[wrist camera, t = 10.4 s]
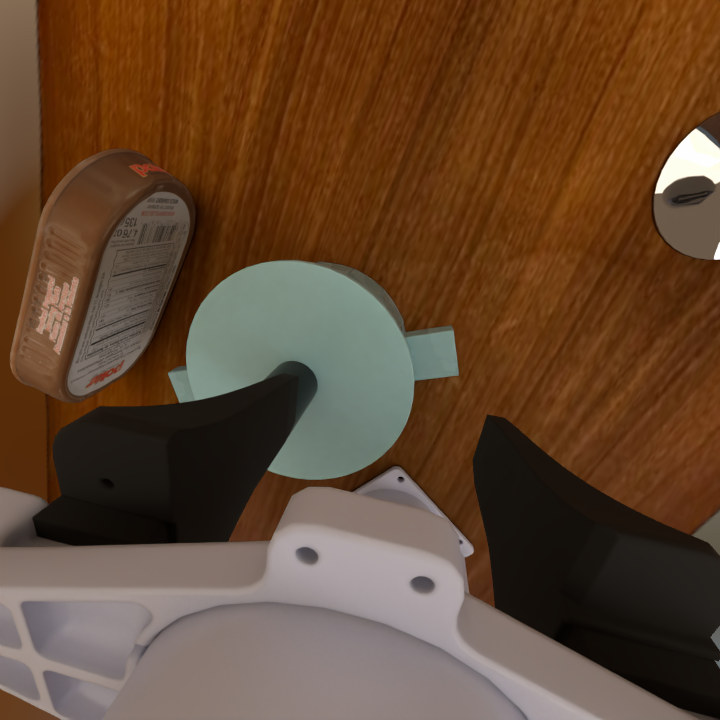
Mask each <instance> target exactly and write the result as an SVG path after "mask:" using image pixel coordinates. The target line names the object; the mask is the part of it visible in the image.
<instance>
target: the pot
mask: <svg viewBox="0 0 720 720" xmlns="http://www.w3.org/2000/svg"><path fill="white" fill-rule="evenodd" d="M315 263H317V264H320V265H324V266H327V267H331V268H333V269H335V270H337V271H340V272H342V273H344V274H346V275H348V276H350V277H351V278H353V279H354V280H356V281H358V282H359V283H361V284H362V285H363V286H365V287H366V288H367V289H368V290H370V291H371V292H372V293H373V294H375V295H376V297H377V298H378V299H379V300H380V301H381V302H382V303H383V304H384V305H385V306H386V307H387V308H388V310H389V311H390V313H391V314H392V315H393V317H394V318H395V319H396V321H397V323H398V325H399V326H400V328H401V330H402V332H403V334H404V336H405V339H406V341H407V344H408V346H409V349H410V353H411V357H412V362H413V369H414V381H416V380H424V379H432V378H440V377H449V376H457V375H459V371H458V362H457V354H456V346H455V338H454V331H453V327H452V326H451V325H450V326H443V327H437V328H430V329H424V330H417V331H410V332H406V331H405V327H404V322H403V319H402V316H401V315H400V312H399V311H398V309H397V307H396V305H395V303H394V302H393V300H392V299H391V298H390V296H389V295H388V294H387V292H386V291H385V290H384V289H383V288H382V287H381V286H380V285H379V284H377V283H376V282H375V281H374V280H372V279H371V278H370V277H368V276H366V275H365V274H363V273H362V272H360V271H358V270H356V269H354V268H351V267H347V266H344V265H340V264H334V263H327V262H315ZM168 375H169V377H170V380H171V382H172V385H173V387H174V390H175V392H176V395H177V397H178V400H179V403H183V402H189V401H196V400H195V398H194V396H193V393H192V390H191V386H190V383H189V378H188V373H187V366H180V367H177V368H175V369H173V370H172V371H170V372H168Z"/></svg>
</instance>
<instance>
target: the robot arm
mask: <svg viewBox="0 0 720 720" xmlns="http://www.w3.org/2000/svg"><path fill="white" fill-rule="evenodd" d="M298 383H299V376H296V375H291V374H286V373H283V374H279V375H276V376H273V377H271V378H268V379H265V380H263V381H260V382H258V383H255V384H252V385H250V386H247V387H244V388H241V389H238V390H235V391H232V392H229V393H226V394H222V395H218V396H215V397H210V398H206V399H201V400H196V401H189V402H183V403H176V404H168V405H156V406H136V407H108V406H99V407H98V408H96V409H94V410H92V411H91V412H89V413H87V414H86V415H84V416H82V417H80V418H79V419H77V420H75V421H74V422H72V423H70V424H68V425H67V426H65V427H63V428H62V429H60V431H59V432H58V433H57V435H56V436H55V439H54V443H53V459H54V463H55V468H56V472H57V477H58V481H59V486H60V490H61V496H60V497H59V498H57V499H56V500H55V501H53V502H52V503H51V504H49V505H48V503H47V502H46V501H45V500H44V499H43V498H40V497H38V496H36V495H32V494H27V493H24V492H20V491H16V490H12V489H8V488H2V487H0V689H2V690H4V691H6V692H8V693H10V694H13V695H14V696H16V697H19V698H20V699H22V700H24V701H26V702H28V703H30V704H32V705H34V706H36V707H38V708H40V709H42V710H44V711H46V712H48V713H50V714H52V715H54V716H56V717H58V718H60V719H62V720H720V668H719V667H718V665H717V664H716V662H715V661H719V660H720V651H719V649H718V648H717V646H716V645H715V643H714V642H713V641H712V639H711V638H710V637H711V636H712V634H713V633H714V632H715V631H716V629H717V628H718V627H719V626H720V556H719V554H718V553H717V552H716V551H715V550H714V549H713V547H712V546H711V545H710V544H709V543H707V542H705V541H703V540H700V539H698V538H695V537H693V536H691V535H688V534H686V533H684V532H681V531H679V530H676V529H674V528H672V527H669V526H667V525H664V524H662V523H660V522H658V521H656V520H654V519H652V518H650V517H647V516H645V515H643V514H641V513H639V512H637V511H635V510H633V509H631V508H629V507H627V506H625V505H624V504H622V503H620V502H618V501H616V500H614V499H613V498H611V497H609V496H607V495H606V494H604V493H602V492H600V491H599V490H597V489H595V488H594V487H592V486H591V485H589V484H587V483H586V482H584V481H583V480H581V479H580V478H578V477H577V476H576V475H574V474H573V473H571V472H570V471H568V470H567V469H566V468H564V467H563V466H562V465H560V464H559V463H558V462H556V461H555V460H554V459H553V458H551V457H550V456H549V455H548V454H546V453H545V452H544V451H543V450H542V449H540V448H539V447H538V446H537V445H536V444H535V443H533V442H532V441H531V440H530V439H529V438H528V437H527V436H525V435H524V434H523V433H522V432H521V431H520V430H519V429H518V428H516V427H515V426H514V425H513V424H512V423H511V422H509V421H508V420H507V419H505V418H502V417H497V416H492V415H487V417H486V420H485V423H484V427H483V430H482V433H481V436H480V439H479V442H478V445H477V448H476V451H475V454H474V458H473V473H474V484H475V488H476V493H477V497H478V502H479V506H480V510H481V515H482V519H483V523H484V527H485V532H486V536H487V541H488V546H489V553H490V561H491V570H492V579H493V590H494V600H495V608H494V607H492V606H490V605H489V604H487V603H485V602H483V601H481V600H479V599H478V598H476V597H474V596H472V595H470V594H469V589H468V581H467V574H466V566H465V558H464V557H467V556H469V555H471V554H472V553H473V552H474V548H473V545H472V544H471V543H470V542H469V541H468V539H467V538H466V537H465V536H464V535H463V534H462V533H461V532H460V531H459V530H458V529H457V528H456V526H455V525H454V524H453V523H452V522H451V521H450V520H449V519H448V518H447V517H446V516H445V515H444V513H443V512H442V511H441V510H440V509H439V508H438V507H437V506H436V505H435V504H434V503H433V502H432V500H431V499H430V498H429V497H428V496H427V495H426V494H425V493H424V492H423V491H422V490H421V489H420V487H419V486H418V485H417V484H416V483H415V482H414V481H413V480H412V479H411V478H410V477H409V476H408V474H407V473H406V472H405V471H404V470H403V469H402V468H401V467H398V466H394V467H392V468H390V469H389V470H387V471H386V472H384V473H382V474H381V475H379V476H378V477H376V478H374V479H373V480H371V481H369V482H368V483H366V484H365V485H363V486H361V487H360V488H358V489H357V490H355V491H353V492H349V491H345V490H340V489H336V488H332V487H307V488H305V489H303V490H301V491H300V492H298V493H296V494H294V495H292V497H291V499H290V501H289V503H288V505H287V507H286V509H285V511H284V514H283V516H282V518H281V520H280V522H279V524H278V526H277V528H276V530H275V532H274V535H273V537H272V539H271V541H248V542H228V540H229V538H230V536H231V534H232V532H233V530H234V528H235V526H236V524H237V522H238V520H239V518H240V516H241V514H242V512H243V510H244V508H245V506H246V504H247V502H248V500H249V498H250V496H251V494H252V492H253V491H254V489H255V487H256V486H257V484H258V483H259V481H260V480H261V478H262V477H263V475H264V474H265V472H266V471H267V469H268V468H269V466H270V465H271V463H272V462H273V460H274V459H275V457H276V456H277V454H278V453H279V451H280V450H281V448H282V447H283V445H284V443H285V442H286V440H287V438H288V436H289V434H290V432H291V430H292V427H293V425H294V423H295V417H296V406H297V395H298ZM398 477H403V478H404V479H400V478H398ZM459 540H460V541H459ZM714 660H715V661H714Z"/></svg>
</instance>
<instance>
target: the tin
mask: <svg viewBox="0 0 720 720" xmlns="http://www.w3.org/2000/svg"><path fill="white" fill-rule="evenodd" d="M195 218H196V211H195V204H194V201H193V198H192V195H191V193H190V192H189V190H188V189H187V188H186V186H185V185H184V184H183V183H181V182H180V181H179V180H178V179H176V178H175V177H174V176H172V175H171V174H169V173H167V172H166V171H164V170H163V169H161V168H159V167H158V166H156V165H155V164H154V163H153V162H152V161H151V160H150V159H149V158H148V157H146V156H145V155H143V154H141V153H139V152H137V151H134V150H130V149H111V150H106V151H103V152H100V153H98V154H95V155H93V156H91V157H89V158H87V159H85V160H84V161H82V162H80V163H79V164H78V165H77V166H76V167H74V168H73V169H72V170H71V171H70V172H69V173H68V174H67V175H66V176H65V177H64V178H63V179H62V181H61V182H60V183H59V184H58V185H57V187H56V188H55V190H54V191H53V193H52V194H51V196H50V197H49V199H48V201H47V203H46V205H45V207H44V209H43V212H42V214H41V217H40V221H39V224H38V229H37V233H36V238H35V243H34V248H33V252H32V257H31V262H30V266H29V271H28V276H27V281H26V285H25V290H24V295H23V299H22V304H21V308H20V313H19V317H18V321H17V326H16V331H15V335H14V339H13V344H12V348H11V354H10V366H11V370H12V372H13V375H14V376H15V377H16V378H17V379H18V380H19V381H20V382H22V383H23V384H26V385H28V386H33V387H35V388H37V389H39V390H41V391H43V392H45V393H46V394H48V395H50V396H52V397H54V398H56V399H59V400H61V401H64V402H69V403H78V402H81V401H83V400H85V399H87V398H89V397H91V396H93V395H94V394H96V393H98V392H100V391H101V390H103V389H104V388H106V387H107V386H109V385H110V384H112V383H114V382H116V381H117V380H119V379H120V378H122V377H123V376H124V375H125V374H126V373H127V372H128V371H129V370H130V369H131V368H132V367H133V366H134V365H135V363H136V362H137V361H138V360H139V358H140V357H141V356H142V355H143V353H144V352H145V350H146V349H147V347H148V345H149V344H150V342H151V340H152V338H153V336H154V334H155V332H156V329H157V327H158V324H159V322H160V320H161V317H162V315H163V312H164V310H165V307H166V305H167V302H168V300H169V297H170V295H171V292H172V290H173V287H174V285H175V282H176V279H177V277H178V274H179V272H180V269H181V267H182V264H183V261H184V259H185V256H186V254H187V251H188V248H189V246H190V243H191V240H192V237H193V233H194V228H195Z"/></svg>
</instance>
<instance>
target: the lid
mask: <svg viewBox="0 0 720 720" xmlns="http://www.w3.org/2000/svg"><path fill="white" fill-rule="evenodd" d="M186 365H187V373H188V378H189V383H190V386H191V390H192V393H193V396H194V398H195V400H201V399H206V398H210V397H215V396H218V395H222V394H226V393H229V392H232V391H235V390H238V389H241V388H244V387H247V386H250V385H252V384H255V383H258V382H260V381H263V380H265V379H268V378H271V377H273V376H276V375H279V374H283V373H286V374H291V375H296V376H299V383H298V395H297V406H296V417H295V423H294V425H293V427H292V430H291V432H290V434H289V436H288V438H287V440H286V442H285V443H284V445H283V447H282V448H281V450H280V451H279V453H278V454H277V456H276V457H275V459H274V460H273V462H272V463H271V465H270V466H269V468H268V469H267V470H268V471H271V472H274V473H277V474H280V475H283V476H288V477H292V478H298V479H308V480H322V479H330V478H337V477H341V476H345V475H349V474H351V473H354V472H356V471H359V470H361V469H363V468H365V467H366V466H368V465H370V464H372V463H373V462H374V461H376V460H377V459H379V458H380V457H381V456H382V455H383V454H384V453H385V452H386V451H387V450H388V449H390V448H391V447H392V445H393V444H394V443H395V441H396V440H397V439H398V437H399V436H400V434H401V432H402V430H403V429H404V427H405V425H406V423H407V420H408V417H409V414H410V411H411V407H412V402H413V397H414V369H413V362H412V357H411V353H410V349H409V346H408V344H407V341H406V339H405V336H404V334H403V332H402V330H401V328H400V326H399V325H398V323H397V321H396V319H395V318H394V317H393V315H392V314H391V313H390V311H389V310H388V308H387V307H386V306H385V305H384V304H383V303H382V302H381V301H380V300H379V299H378V298H377V297H376V295H375V294H373V293H372V292H371V291H370V290H368V289H367V288H366V287H365V286H363V285H362V284H361V283H359V282H358V281H356V280H354V279H353V278H351V277H350V276H348V275H346V274H344V273H342V272H340V271H337V270H335V269H333V268H331V267H327V266H324V265H320V264H317V263H313V262H306V261H300V260H278V261H270V262H264V263H260V264H257V265H253V266H250V267H247V268H245V269H242V270H240V271H238V272H236V273H234V274H232V275H231V276H229V277H228V278H226V279H225V280H223V281H222V282H221V283H219V284H218V285H217V286H216V287H215V288H214V289H213V290H212V291H211V292H210V293H209V294H208V296H207V297H206V298H205V299H204V301H203V302H202V303H201V305H200V307H199V309H198V311H197V312H196V314H195V316H194V319H193V321H192V324H191V327H190V330H189V335H188V339H187V348H186Z"/></svg>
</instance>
